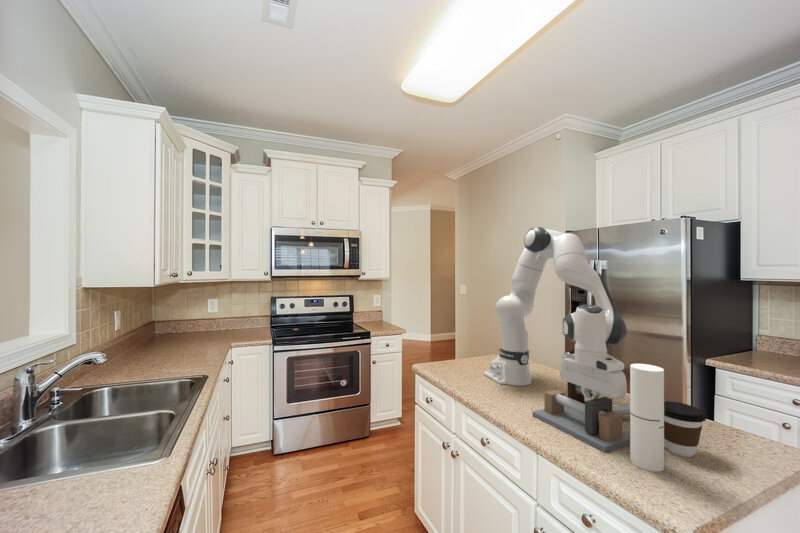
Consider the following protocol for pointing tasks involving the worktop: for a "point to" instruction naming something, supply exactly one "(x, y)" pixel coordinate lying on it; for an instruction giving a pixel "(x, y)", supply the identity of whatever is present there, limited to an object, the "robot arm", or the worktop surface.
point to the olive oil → (576, 389)
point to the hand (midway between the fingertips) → (590, 403)
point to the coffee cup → (682, 428)
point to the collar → (595, 413)
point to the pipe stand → (583, 422)
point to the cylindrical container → (647, 416)
